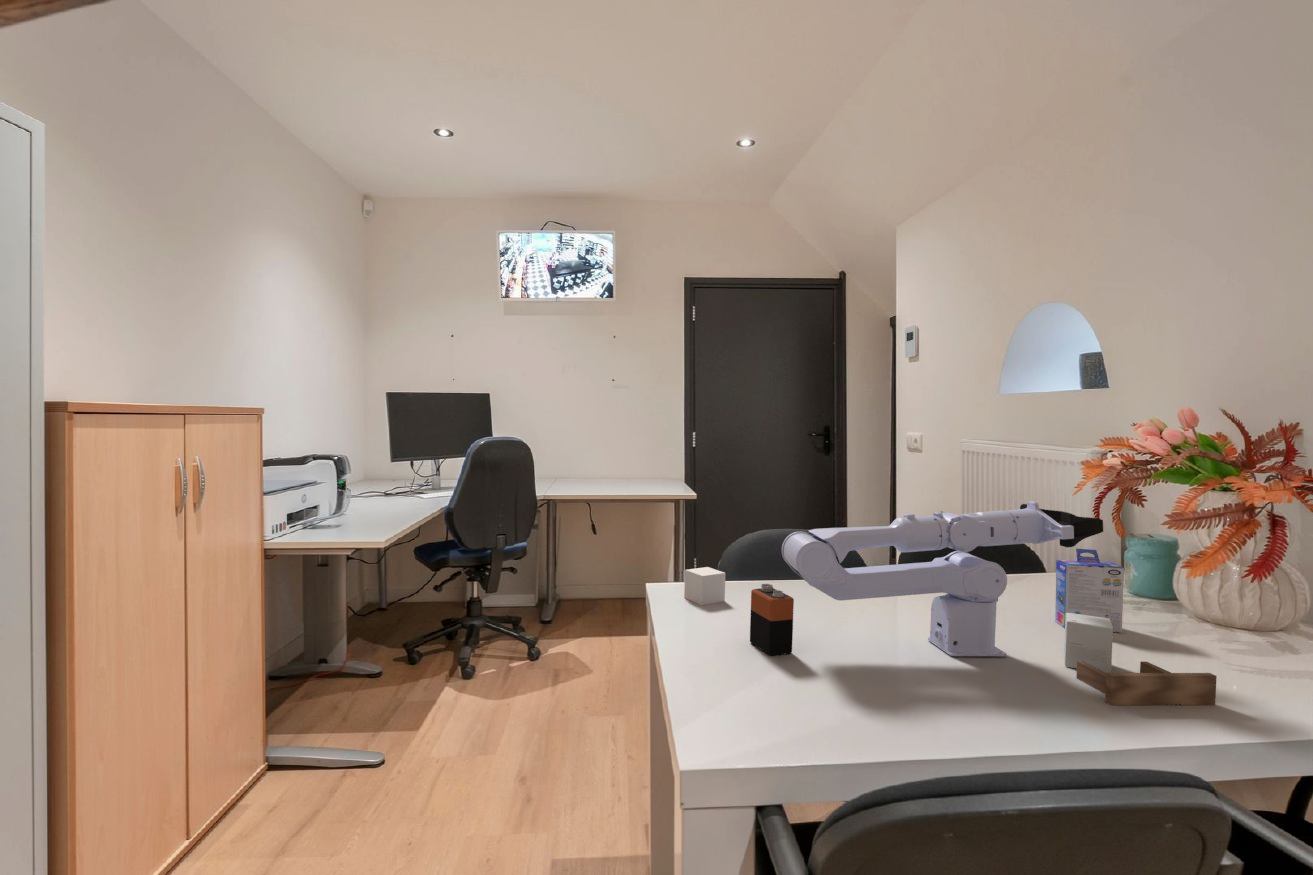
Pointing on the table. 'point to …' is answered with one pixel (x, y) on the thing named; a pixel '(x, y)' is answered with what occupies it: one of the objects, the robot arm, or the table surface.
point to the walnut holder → (1150, 686)
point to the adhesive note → (704, 585)
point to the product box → (1088, 641)
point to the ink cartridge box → (1089, 589)
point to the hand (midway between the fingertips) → (1084, 521)
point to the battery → (771, 620)
